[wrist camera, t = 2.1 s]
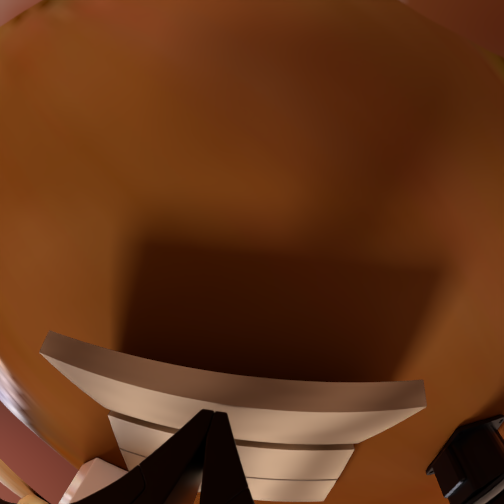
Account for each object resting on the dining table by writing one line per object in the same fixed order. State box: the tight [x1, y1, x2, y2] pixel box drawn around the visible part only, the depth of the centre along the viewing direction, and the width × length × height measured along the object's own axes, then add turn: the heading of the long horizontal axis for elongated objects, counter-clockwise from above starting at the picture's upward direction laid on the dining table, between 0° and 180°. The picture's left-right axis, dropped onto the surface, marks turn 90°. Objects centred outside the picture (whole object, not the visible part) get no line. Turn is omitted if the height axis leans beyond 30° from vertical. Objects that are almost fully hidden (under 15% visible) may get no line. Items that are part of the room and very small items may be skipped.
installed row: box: [108, 410, 354, 502], centre depth 16 cm, size 16×9×2 cm, turn 85°
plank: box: [39, 330, 427, 444], centre depth 12 cm, size 16×8×1 cm, turn 85°
